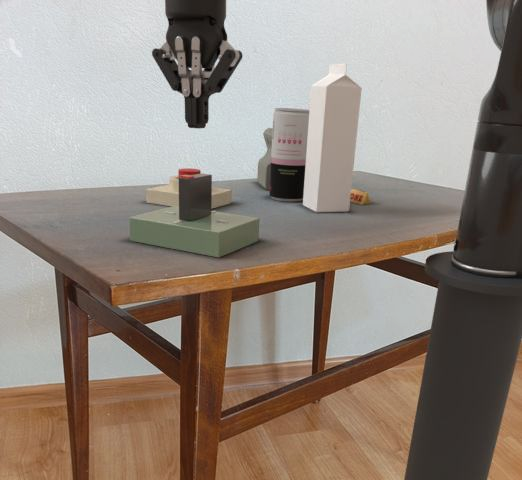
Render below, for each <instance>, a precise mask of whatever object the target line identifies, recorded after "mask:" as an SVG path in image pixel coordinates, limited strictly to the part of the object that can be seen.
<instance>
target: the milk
mask: <svg viewBox="0 0 522 480" xmlns="http://www.w3.org/2000/svg"><path fill="white" fill-rule="evenodd" d="M362 89H363V88H362V87H361V86H360V85H359V84H358V83H357V82H356V81H354V80H353V79H352V78H351V77H350V76H348V75H347V63H329V68H328V74H327V75H326V76H324V77H322V78H321V79H319V80H317V81H316V82H314V83H313V84H311V86H310V97H309V109H308V110H309V124H308V138H307V152H306V166H305V180H304V194H303V200H302V206H303V207H306V208H307V209H309V210H311V211H313V212H314V213H340V212H341V213H342V212H343V213H345V212H349V211H350V205H351V202H350V196H351V189H352V186H353V185H352V184H353V175H354V166H355V157H356V149H357V148H356V147H357V138H358V137H357V136H358V129H359V128H358V127H359V117H360V110H361V108H360V107H361V99H362V98H361V97H362Z"/></svg>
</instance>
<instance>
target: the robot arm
mask: <svg viewBox="0 0 522 480" xmlns="http://www.w3.org/2000/svg"><path fill="white" fill-rule="evenodd" d="M485 3H486V17H487V26H488V31H489V34H490V37H491V40H492V42H493V44H494V45H495V46H496V48H497V49H498V50H499V51H500V54H499V60H498V63H497V69H496V72H495V75H494V79H493V81H492V83H491V86H490V87H489V88H488V90H487V92H486V93H485V94H484V95H483V97H482V99H481V101H480V102H481V103H480V106H479V111H478V117H477V122H476V127H475V133H474V139H473V144H472V149H471V153H470V154H471V155H470V159H469V160H470V161H469V166H468V170H467V176H466V183H465V187H464V193H463V197H462V198H463V199H462V203H461V210H460V214H459V220H458V226H457V232H456V236H455V240H454V242H453V248H452V251H454V253H453V255H452V260H451V264H452V265H453V266H454V267H456V268H458V269H460V270H462V271H465V272H468V273H472V274H476V275H481V276H487V277H496V278H518V279H522V0H485ZM164 7H165V9H164V10H165V11H164V12H165V16H166V19H167V22H168V26H167V30H166V33H165V40H166V41H165V42H164V43H163V44H162V45H161V46H160V48H155V47H154V48H153V49H152V51H151V56H152V57H153V60H154V61H155V63H156V64H157V66H158V68H159V70H160V71H161V74H162V75H163V77H164V78H165V79H166V81H167V83H168V85H169V86H170V88H171V90H172V91H174V92H177V93H179V94H181V95H182V96H183V98H184V120H185V123H186V124H187V127H188V128H189V129H198V130H199V129H205V128H206V126H207V125H208V123H209V118H210V117H209V114H210V113H209V111H210V110H209V107H210V106H209V104H210V103H209V100H210V97H211V96H212V95H214V94H219V93H222V92H223V90H224V88H225V86H226V85H227V83H228V82H229V80H230V79H231V78H232V76H233V74H234V72H235V70H236V69H237V67H238V66H239V65H240V63H241V61H242V60H243V52H242V51H241V50H237V49H235V48H234V47H233V46H232V44H230V43H229V41H228V33H227V30H226V28H225V22H226V19H227V0H164ZM218 60H219V61H218ZM217 61H218V62H217ZM216 62H217V64H216Z"/></svg>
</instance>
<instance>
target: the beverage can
mask: <svg viewBox="0 0 522 480" xmlns="http://www.w3.org/2000/svg"><path fill="white" fill-rule="evenodd" d="M309 110H310V109H308V108H307V109H306V108H294V107H293V108H292V107H291V108H289V107H274V111H273V113H272V128H273V131H272V151H271V171H270V190H268V193H269V194H268V195H269V197H270V198H271V199H272V200H274V201H278V202H289V203H294V202H303V194H304V180H305V166H306V152H307V138H308V124H309Z"/></svg>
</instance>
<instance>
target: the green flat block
mask: <svg viewBox="0 0 522 480" xmlns="http://www.w3.org/2000/svg"><path fill="white" fill-rule="evenodd" d="M128 220H129V222H128V223H129V240H130V242H135V243H139V244H145V245H151V246H156V247H159V248H160V247H161V248H167V249H171V250H176V251H180V252H181V251H182V252H187V253H192V254H198V255H203V256H208V257H214V258H221V257H223V256H226V255H229V254H231V253H233V252H235V251H238V250H240V249H243V248H245V247H247V246H250V245H252V244H255V243H257V242H259V239H260V217H256V216H255V217H254V216H248V215H242V214H235V213H227V212H222V211H216V210H211V215H209V216H206V217H202V218H199V219H195V220H192V221H185V220H179V206H177V205H176V206H167V207H164V208H160V209H156V210H152V211H148V212H143V213H140V214H136V215H132V216H129V218H128Z"/></svg>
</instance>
